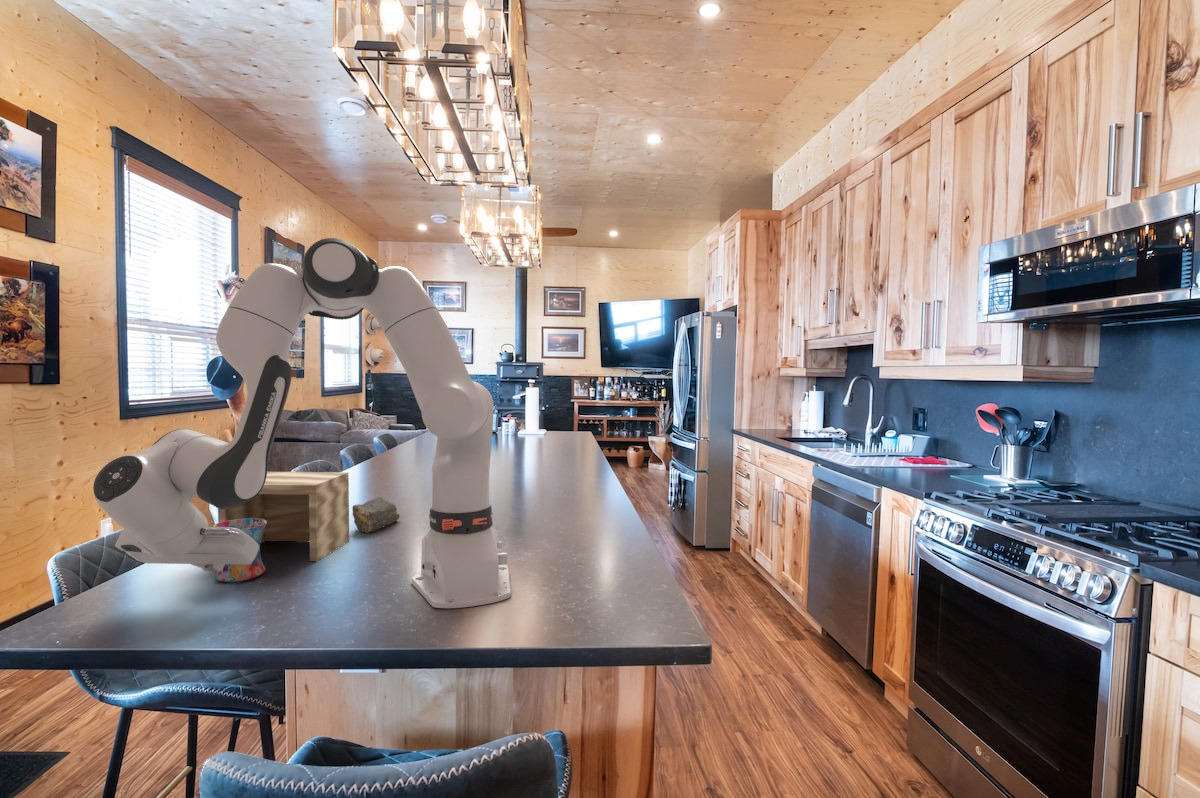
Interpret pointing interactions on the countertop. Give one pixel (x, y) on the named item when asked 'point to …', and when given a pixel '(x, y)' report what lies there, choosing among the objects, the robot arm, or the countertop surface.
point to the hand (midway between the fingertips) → (215, 567)
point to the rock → (374, 515)
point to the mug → (256, 568)
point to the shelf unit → (300, 509)
